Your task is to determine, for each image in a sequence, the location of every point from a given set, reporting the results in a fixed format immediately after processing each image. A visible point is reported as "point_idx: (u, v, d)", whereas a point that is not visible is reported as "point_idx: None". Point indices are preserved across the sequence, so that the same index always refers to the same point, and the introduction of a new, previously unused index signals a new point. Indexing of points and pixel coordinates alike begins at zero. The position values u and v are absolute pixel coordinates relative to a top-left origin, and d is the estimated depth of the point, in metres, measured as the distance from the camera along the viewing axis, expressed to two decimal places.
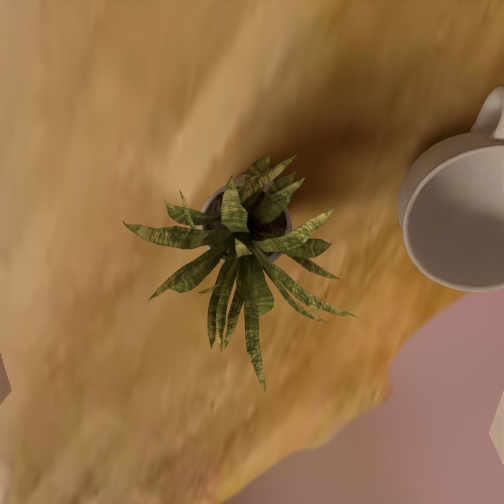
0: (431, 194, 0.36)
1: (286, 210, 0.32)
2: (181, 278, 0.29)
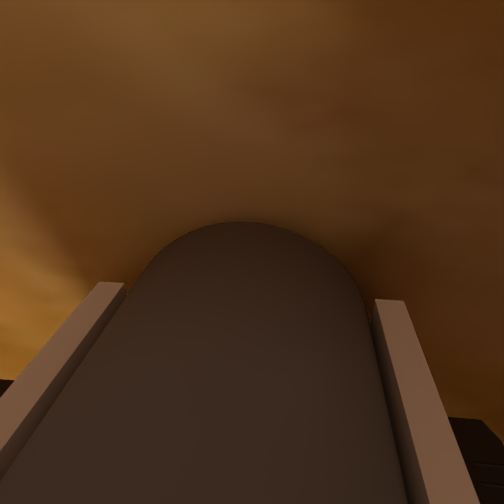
0: None
1: None
2: None
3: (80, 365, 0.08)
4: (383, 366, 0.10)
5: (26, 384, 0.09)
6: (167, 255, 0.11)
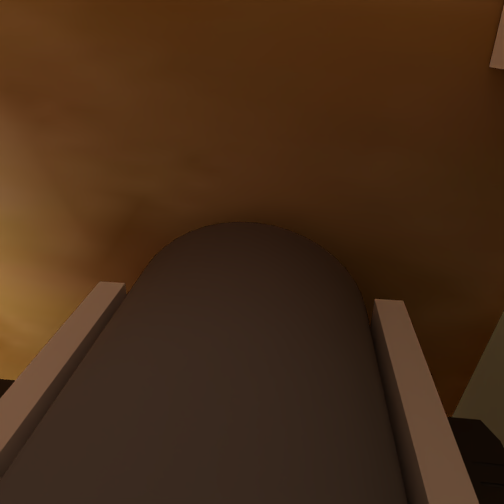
0: None
1: None
2: None
3: (79, 365, 0.08)
4: (383, 366, 0.10)
5: (27, 384, 0.09)
6: (167, 255, 0.11)
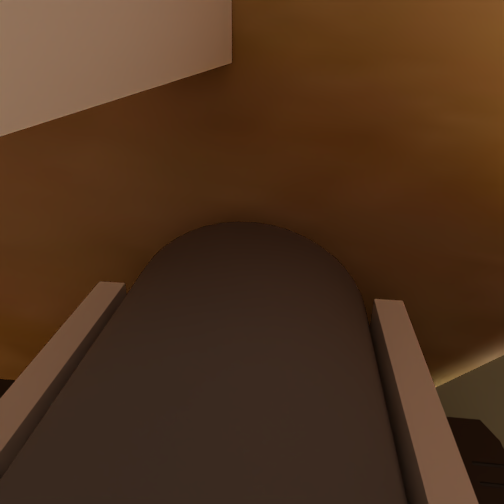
0: None
1: None
2: None
3: (79, 365, 0.08)
4: (382, 366, 0.10)
5: (27, 384, 0.09)
6: (166, 255, 0.11)
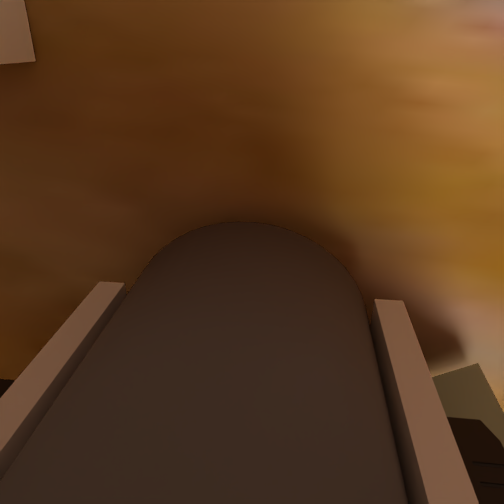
0: None
1: None
2: None
3: (80, 365, 0.08)
4: (382, 366, 0.10)
5: (26, 384, 0.09)
6: (166, 255, 0.11)
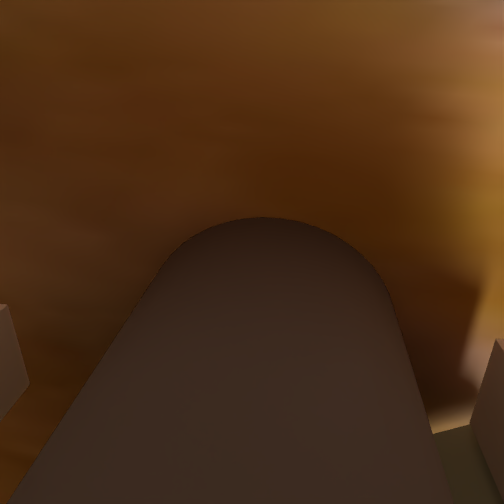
0: None
1: None
2: None
3: (98, 366, 0.08)
4: None
5: None
6: (187, 251, 0.10)
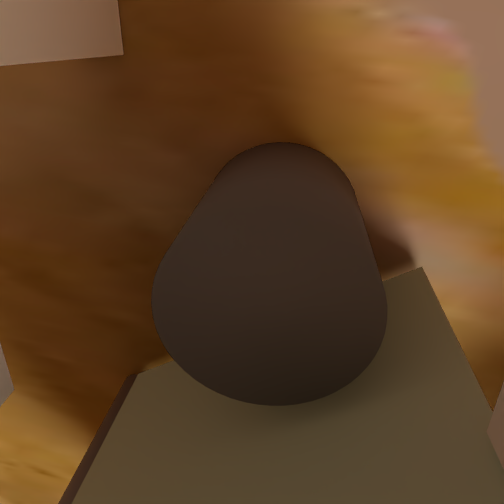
0: None
1: None
2: None
3: (200, 201, 0.15)
4: None
5: None
6: (236, 159, 0.18)
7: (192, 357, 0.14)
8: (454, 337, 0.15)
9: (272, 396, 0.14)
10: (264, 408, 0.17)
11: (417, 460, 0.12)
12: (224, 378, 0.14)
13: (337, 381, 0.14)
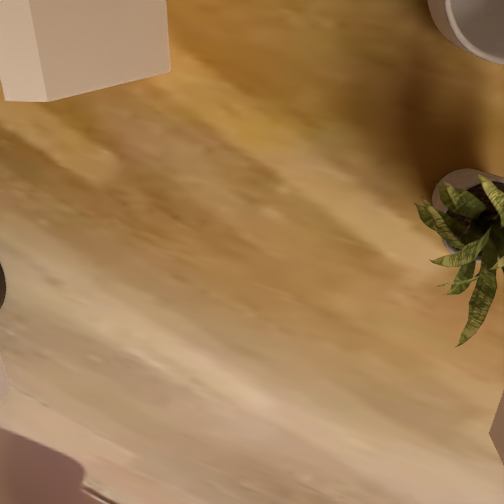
0: (491, 8, 0.32)
1: (476, 182, 0.33)
2: None
3: None
4: None
5: None
6: None
7: None
8: None
9: None
10: None
11: None
12: None
13: None
